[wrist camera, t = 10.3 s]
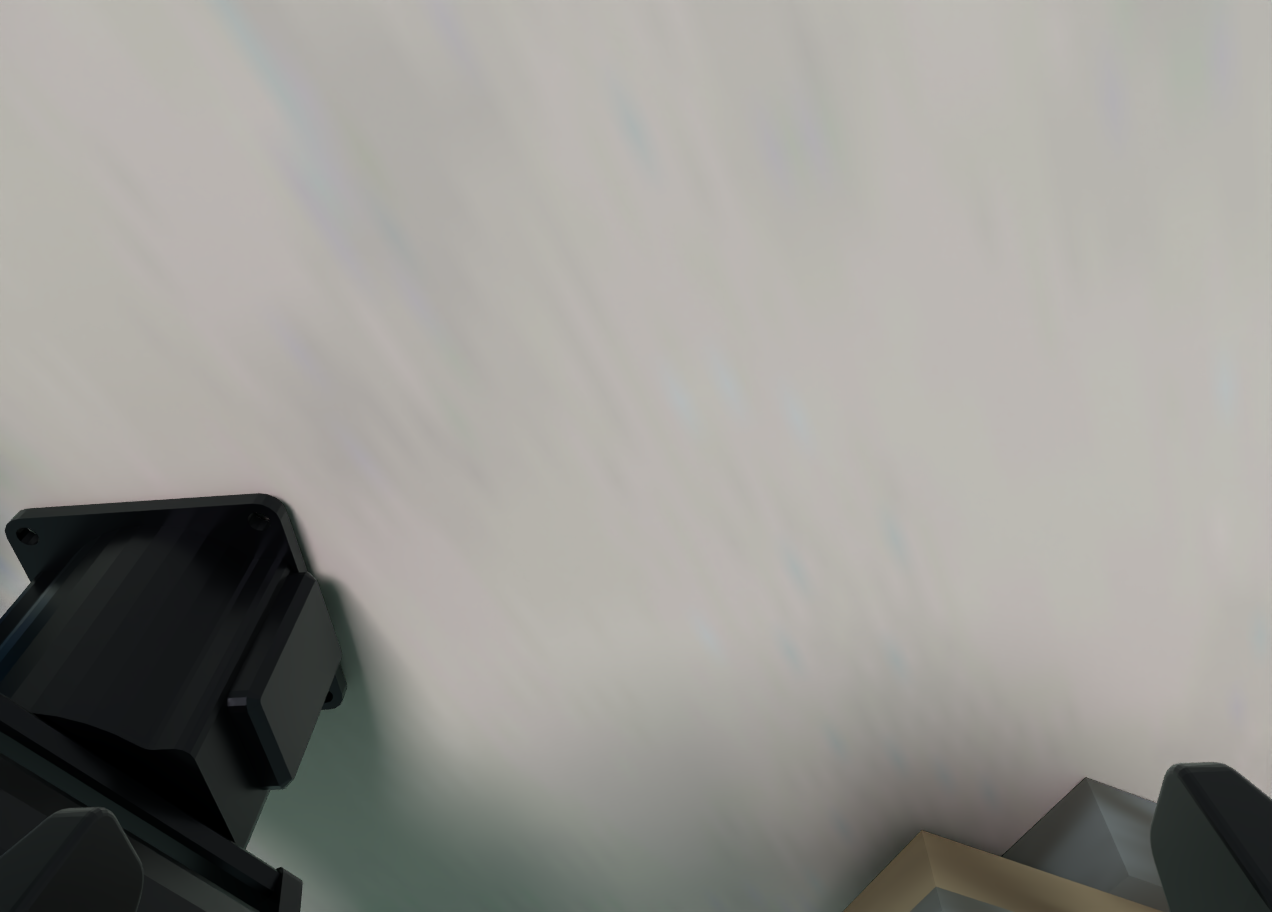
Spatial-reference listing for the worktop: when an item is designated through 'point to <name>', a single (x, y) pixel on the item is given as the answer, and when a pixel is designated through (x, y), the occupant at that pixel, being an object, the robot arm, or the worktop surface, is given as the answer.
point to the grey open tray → (1034, 865)
